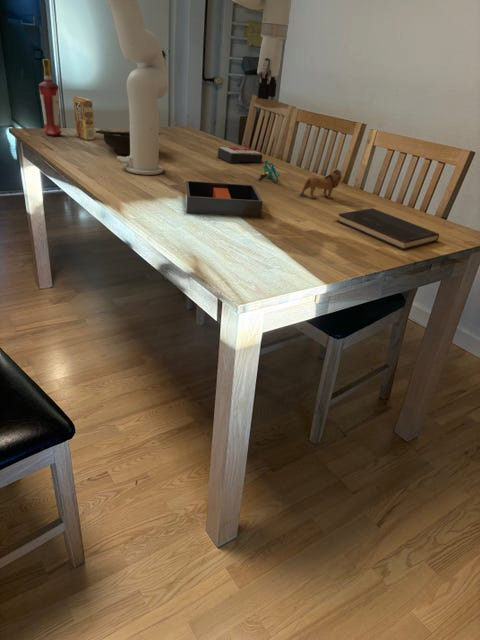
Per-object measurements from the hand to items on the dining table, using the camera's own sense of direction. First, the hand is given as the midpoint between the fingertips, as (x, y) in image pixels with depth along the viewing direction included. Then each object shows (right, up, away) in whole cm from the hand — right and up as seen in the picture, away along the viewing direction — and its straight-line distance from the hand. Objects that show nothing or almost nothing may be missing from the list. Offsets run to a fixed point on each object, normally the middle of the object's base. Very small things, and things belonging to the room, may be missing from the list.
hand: (266, 97), depth 145 cm
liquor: (-87, +10, +55) cm, 103 cm away
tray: (-14, -35, -8) cm, 38 cm away
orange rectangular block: (-14, -35, -8) cm, 38 cm away
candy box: (-74, +9, +57) cm, 94 cm away
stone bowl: (-53, -1, +44) cm, 69 cm away
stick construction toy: (+1, -17, +26) cm, 31 cm away
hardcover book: (+33, -43, -11) cm, 56 cm away
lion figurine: (+18, -27, +13) cm, 35 cm away
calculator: (-8, -2, +50) cm, 51 cm away
